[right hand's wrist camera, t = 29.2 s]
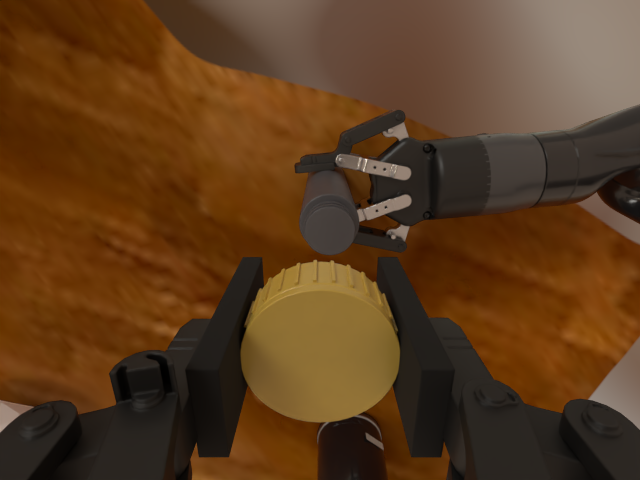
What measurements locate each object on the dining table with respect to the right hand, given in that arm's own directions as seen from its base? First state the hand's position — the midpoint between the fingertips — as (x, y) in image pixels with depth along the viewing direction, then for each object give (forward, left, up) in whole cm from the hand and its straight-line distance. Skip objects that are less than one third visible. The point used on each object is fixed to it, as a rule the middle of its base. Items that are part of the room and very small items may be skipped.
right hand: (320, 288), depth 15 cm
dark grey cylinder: (+1, 0, -27) cm, 27 cm away
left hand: (0, -2, -21) cm, 21 cm away
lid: (0, 0, +4) cm, 4 cm away
